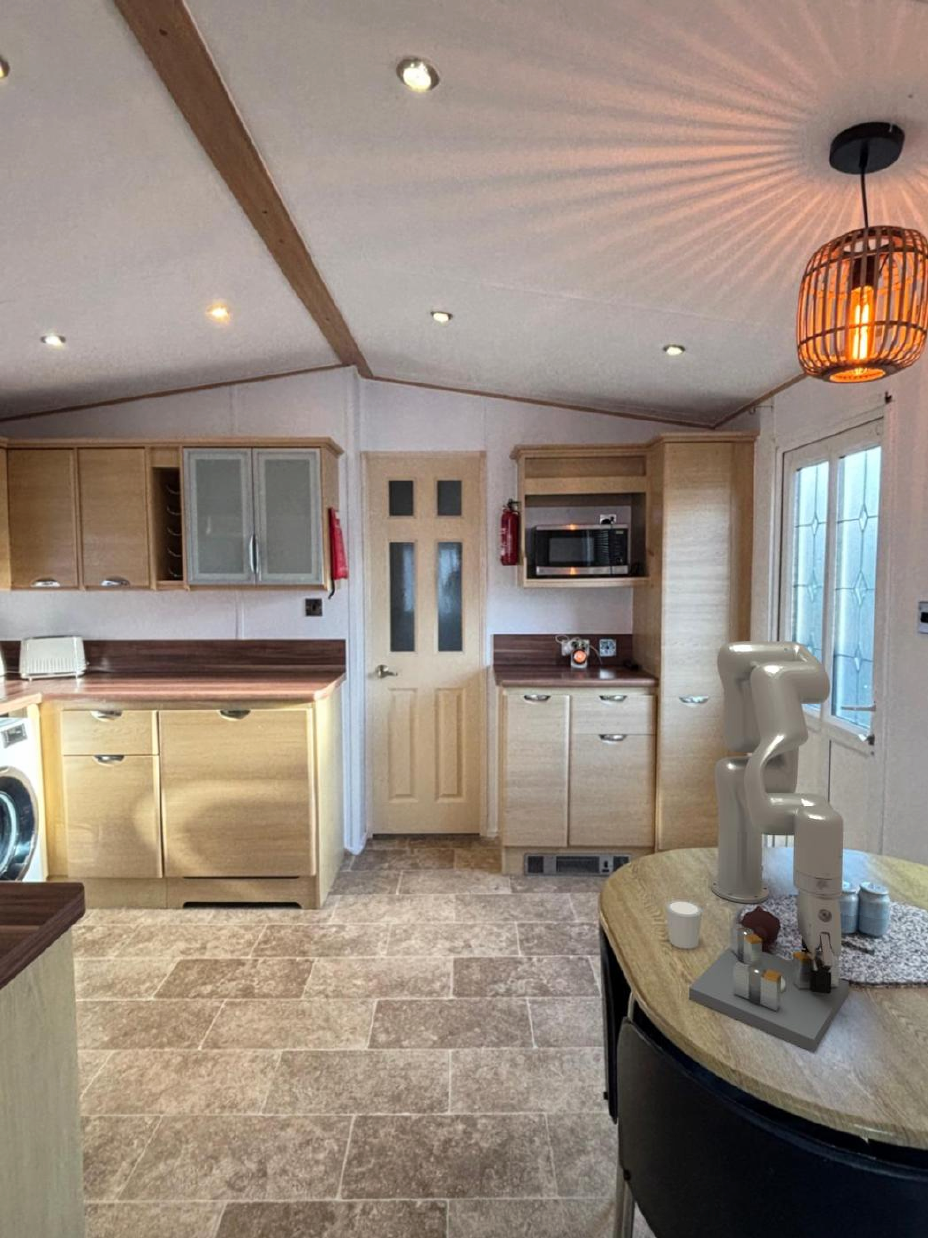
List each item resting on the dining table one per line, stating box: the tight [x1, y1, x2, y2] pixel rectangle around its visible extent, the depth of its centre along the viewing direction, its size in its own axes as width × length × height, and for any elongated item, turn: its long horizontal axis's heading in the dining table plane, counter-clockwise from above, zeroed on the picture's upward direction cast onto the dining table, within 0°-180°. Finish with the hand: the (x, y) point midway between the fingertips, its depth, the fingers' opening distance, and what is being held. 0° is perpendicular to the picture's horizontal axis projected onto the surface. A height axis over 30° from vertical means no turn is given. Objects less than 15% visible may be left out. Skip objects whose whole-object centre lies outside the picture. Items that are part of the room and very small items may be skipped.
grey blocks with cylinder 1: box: [733, 962, 781, 1011], centre depth 114 cm, size 7×3×5 cm, turn 47°
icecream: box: [739, 905, 782, 955], centre depth 135 cm, size 7×7×15 cm
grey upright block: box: [729, 923, 762, 966], centre depth 126 cm, size 7×3×5 cm, turn 9°
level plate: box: [688, 946, 850, 1053], centre depth 118 cm, size 20×20×3 cm
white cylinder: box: [665, 899, 703, 950], centre depth 136 cm, size 7×7×7 cm
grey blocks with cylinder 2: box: [792, 951, 840, 989], centre depth 117 cm, size 7×3×5 cm, turn 93°
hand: (815, 981), depth 118 cm, fingers open, 5 cm apart
